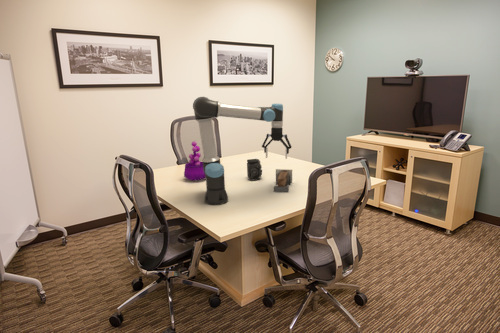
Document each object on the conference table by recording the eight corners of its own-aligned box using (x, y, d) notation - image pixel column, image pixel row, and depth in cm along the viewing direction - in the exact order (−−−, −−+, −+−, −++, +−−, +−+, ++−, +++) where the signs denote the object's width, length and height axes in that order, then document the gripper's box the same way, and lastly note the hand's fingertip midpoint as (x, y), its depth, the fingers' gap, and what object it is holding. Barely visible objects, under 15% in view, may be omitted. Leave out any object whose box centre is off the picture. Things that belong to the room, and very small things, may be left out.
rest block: (273, 191, 224) (273, 186, 223) (274, 189, 228) (274, 184, 227) (288, 192, 222) (288, 187, 221) (288, 190, 226) (288, 184, 225)
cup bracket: (274, 184, 238) (274, 171, 235) (275, 182, 244) (275, 169, 241) (291, 185, 236) (291, 171, 233) (292, 182, 241) (292, 169, 239)
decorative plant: (190, 175, 267) (187, 138, 259) (211, 176, 263) (209, 139, 255) (180, 182, 249) (177, 143, 241) (204, 183, 246) (201, 144, 238)
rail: (277, 186, 224) (277, 178, 223) (281, 179, 239) (281, 171, 238) (284, 187, 223) (284, 178, 222) (287, 180, 238) (287, 172, 236)
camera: (263, 180, 249) (262, 161, 245) (249, 181, 247) (248, 162, 243) (260, 176, 259) (259, 157, 255) (247, 177, 257) (246, 158, 253)
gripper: (257, 127, 220) (257, 158, 225) (295, 128, 215) (294, 160, 220) (259, 125, 227) (259, 155, 233) (296, 126, 222) (295, 157, 227)
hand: (276, 157), depth 227 cm, fingers open, 13 cm apart
